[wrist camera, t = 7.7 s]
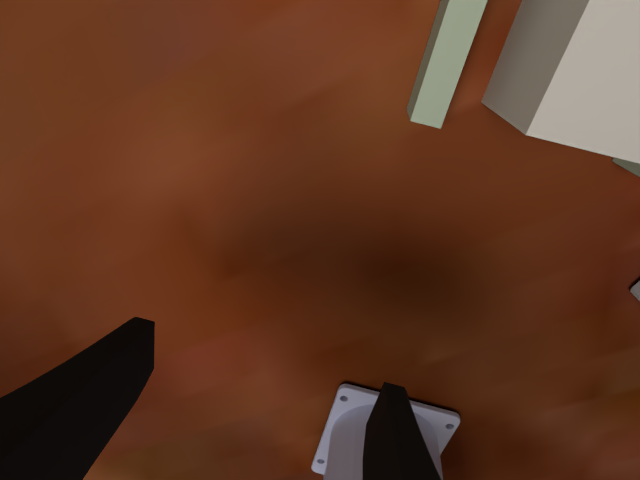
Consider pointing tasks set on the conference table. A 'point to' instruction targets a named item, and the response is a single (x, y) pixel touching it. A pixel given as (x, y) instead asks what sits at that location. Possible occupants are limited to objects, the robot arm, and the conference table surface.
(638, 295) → the string lights box
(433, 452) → the robot arm
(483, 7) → the pale green slab
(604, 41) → the stepped cream block
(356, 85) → the conference table surface
